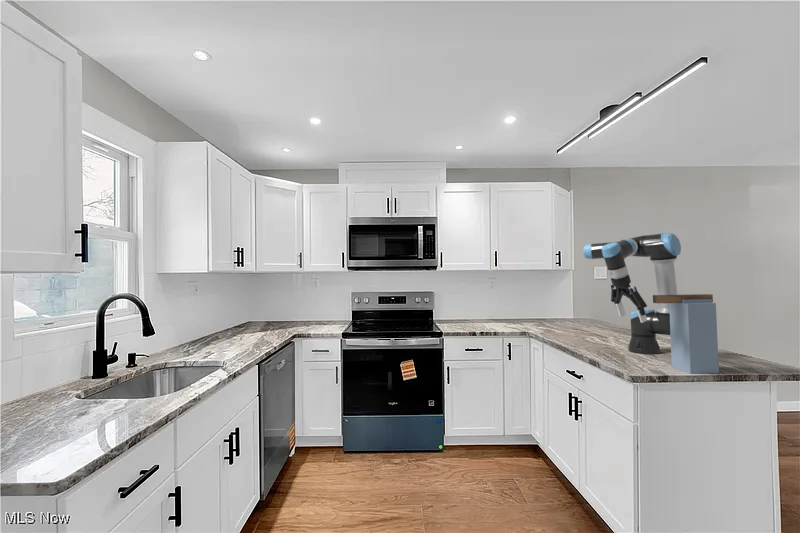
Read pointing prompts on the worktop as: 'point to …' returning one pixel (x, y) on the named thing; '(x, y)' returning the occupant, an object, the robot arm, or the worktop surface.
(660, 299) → the brown block
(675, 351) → the tall blue prism
